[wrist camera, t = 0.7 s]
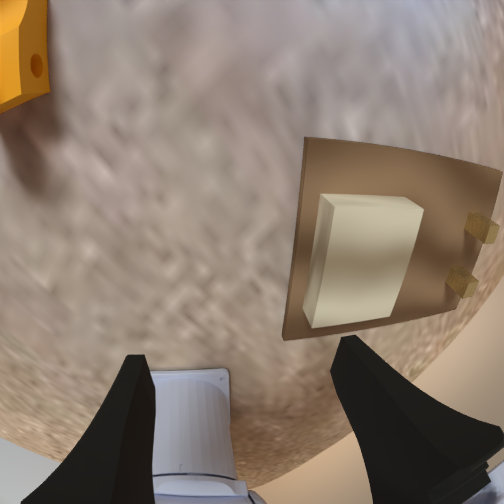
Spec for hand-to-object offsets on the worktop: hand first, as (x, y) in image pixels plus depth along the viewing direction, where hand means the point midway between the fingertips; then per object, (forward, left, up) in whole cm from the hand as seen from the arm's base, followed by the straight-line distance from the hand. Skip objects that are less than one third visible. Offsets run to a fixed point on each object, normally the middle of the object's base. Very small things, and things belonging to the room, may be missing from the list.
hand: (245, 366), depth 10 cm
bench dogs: (0, -19, -8) cm, 21 cm away
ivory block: (0, -8, -8) cm, 11 cm away
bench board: (0, -13, -8) cm, 16 cm away
